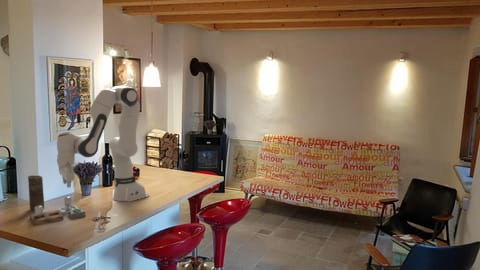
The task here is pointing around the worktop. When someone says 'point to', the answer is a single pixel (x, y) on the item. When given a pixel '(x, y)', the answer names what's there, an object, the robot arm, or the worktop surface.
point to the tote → (64, 210)
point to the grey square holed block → (76, 213)
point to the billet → (68, 203)
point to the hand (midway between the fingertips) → (66, 185)
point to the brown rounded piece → (35, 192)
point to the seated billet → (38, 212)
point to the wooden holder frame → (47, 217)
